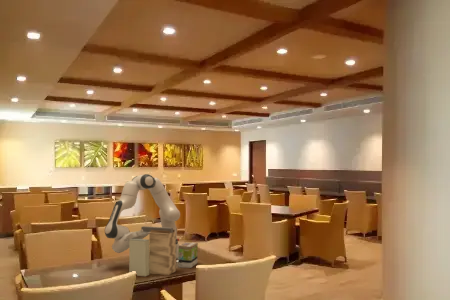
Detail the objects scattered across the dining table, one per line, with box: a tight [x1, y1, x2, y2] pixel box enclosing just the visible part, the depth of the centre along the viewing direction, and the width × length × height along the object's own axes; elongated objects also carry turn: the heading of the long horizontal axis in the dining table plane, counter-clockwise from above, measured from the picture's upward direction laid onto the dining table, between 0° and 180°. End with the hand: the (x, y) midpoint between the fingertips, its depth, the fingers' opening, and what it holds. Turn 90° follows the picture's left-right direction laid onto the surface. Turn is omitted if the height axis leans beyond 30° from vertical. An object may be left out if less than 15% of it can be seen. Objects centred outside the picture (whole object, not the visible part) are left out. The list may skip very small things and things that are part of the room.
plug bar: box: [140, 225, 173, 233], centre depth 269 cm, size 3×22×3 cm, turn 68°
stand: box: [148, 230, 177, 276], centre depth 267 cm, size 10×14×28 cm
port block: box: [128, 238, 150, 277], centre depth 260 cm, size 4×12×22 cm, turn 68°
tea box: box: [177, 241, 199, 269], centre depth 285 cm, size 15×10×15 cm, turn 168°
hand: (147, 229), depth 272 cm, fingers open, 8 cm apart
